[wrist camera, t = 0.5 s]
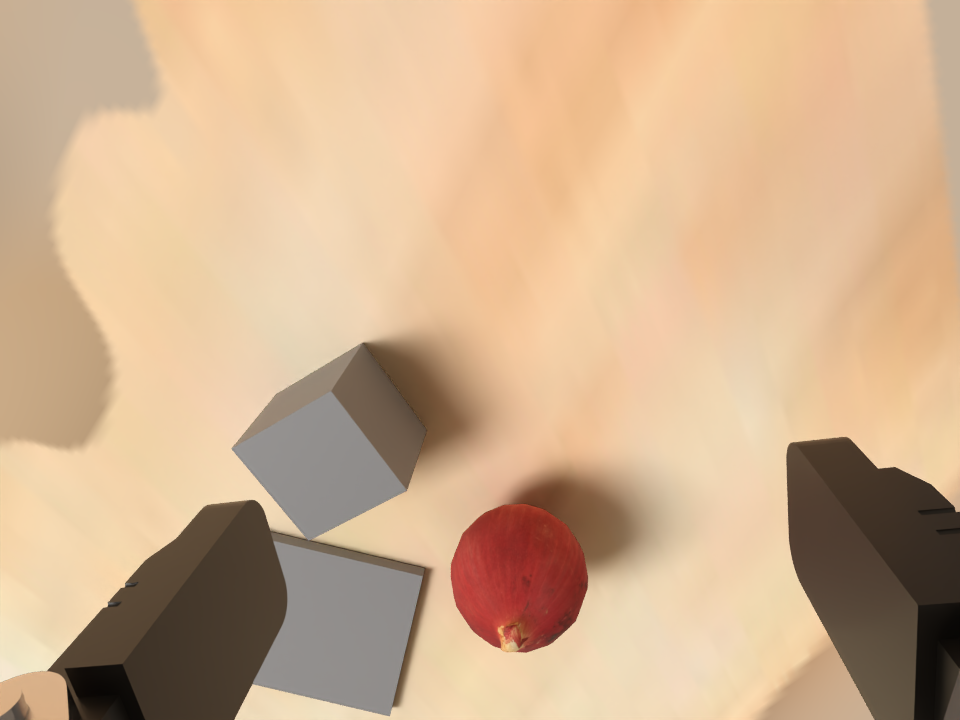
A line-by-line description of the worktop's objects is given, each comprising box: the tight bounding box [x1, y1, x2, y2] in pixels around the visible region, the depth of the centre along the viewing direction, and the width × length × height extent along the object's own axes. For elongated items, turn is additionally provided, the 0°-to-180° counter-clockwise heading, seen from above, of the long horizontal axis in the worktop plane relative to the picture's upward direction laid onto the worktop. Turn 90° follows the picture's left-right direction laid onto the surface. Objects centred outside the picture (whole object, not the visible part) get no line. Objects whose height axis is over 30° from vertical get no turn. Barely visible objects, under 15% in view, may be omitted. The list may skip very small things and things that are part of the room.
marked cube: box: [232, 343, 427, 541], centre depth 30 cm, size 5×5×5 cm
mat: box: [253, 532, 425, 716], centre depth 37 cm, size 10×10×1 cm
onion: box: [451, 504, 588, 653], centre depth 30 cm, size 6×6×8 cm
